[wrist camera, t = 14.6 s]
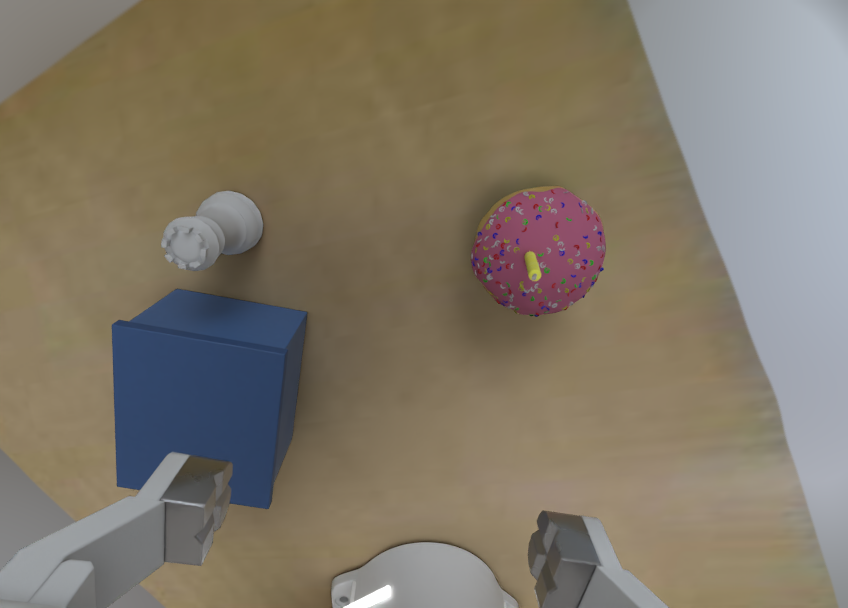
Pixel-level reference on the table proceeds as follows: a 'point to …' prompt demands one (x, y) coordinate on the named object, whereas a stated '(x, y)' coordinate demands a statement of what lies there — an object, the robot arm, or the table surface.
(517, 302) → the cupcake
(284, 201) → the table surface
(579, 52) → the table surface
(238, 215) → the rook chess piece
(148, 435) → the blue box
